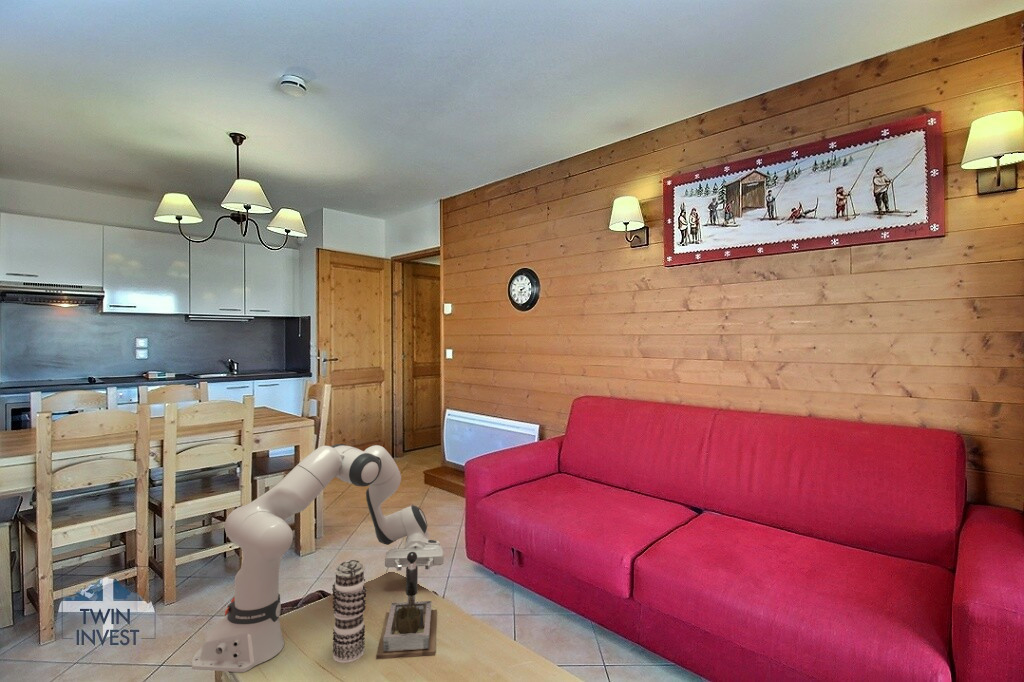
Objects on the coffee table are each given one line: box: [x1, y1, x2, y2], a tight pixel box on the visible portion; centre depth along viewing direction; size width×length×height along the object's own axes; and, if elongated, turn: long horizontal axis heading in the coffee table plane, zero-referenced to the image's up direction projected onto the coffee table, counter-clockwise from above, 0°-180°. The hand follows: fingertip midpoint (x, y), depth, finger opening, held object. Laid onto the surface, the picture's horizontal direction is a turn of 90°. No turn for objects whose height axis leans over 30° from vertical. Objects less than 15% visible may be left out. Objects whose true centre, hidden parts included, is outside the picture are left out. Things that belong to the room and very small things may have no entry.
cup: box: [396, 605, 421, 634], centre depth 144 cm, size 8×7×8 cm
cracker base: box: [375, 606, 438, 660], centre depth 146 cm, size 16×22×6 cm
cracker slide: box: [383, 552, 432, 652], centre depth 147 cm, size 12×21×19 cm, turn 7°
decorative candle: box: [331, 559, 367, 664], centre depth 137 cm, size 9×9×25 cm
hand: (413, 567), depth 165 cm, fingers open, 8 cm apart
